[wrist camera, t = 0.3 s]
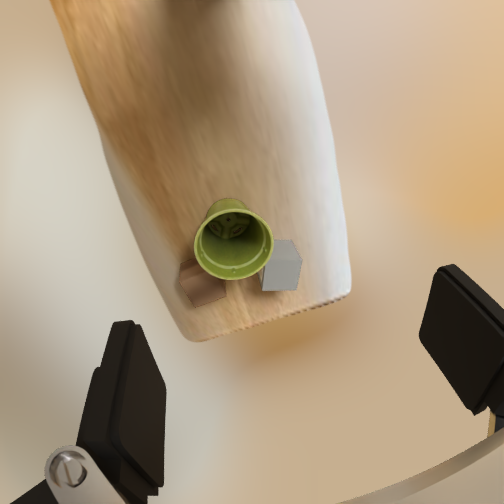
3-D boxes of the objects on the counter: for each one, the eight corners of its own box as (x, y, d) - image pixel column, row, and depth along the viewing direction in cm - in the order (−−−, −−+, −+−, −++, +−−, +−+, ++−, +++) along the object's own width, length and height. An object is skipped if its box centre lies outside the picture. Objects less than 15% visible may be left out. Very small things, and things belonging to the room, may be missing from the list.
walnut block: (180, 263, 48) (179, 282, 44) (211, 251, 48) (212, 269, 43) (195, 287, 50) (194, 307, 46) (224, 276, 50) (226, 296, 46)
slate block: (258, 239, 48) (265, 259, 43) (291, 239, 49) (302, 259, 43) (255, 268, 50) (261, 290, 45) (287, 268, 51) (296, 290, 46)
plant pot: (234, 172, 42) (241, 193, 35) (274, 221, 47) (288, 250, 39) (181, 214, 44) (177, 243, 37) (223, 258, 49) (228, 292, 41)
